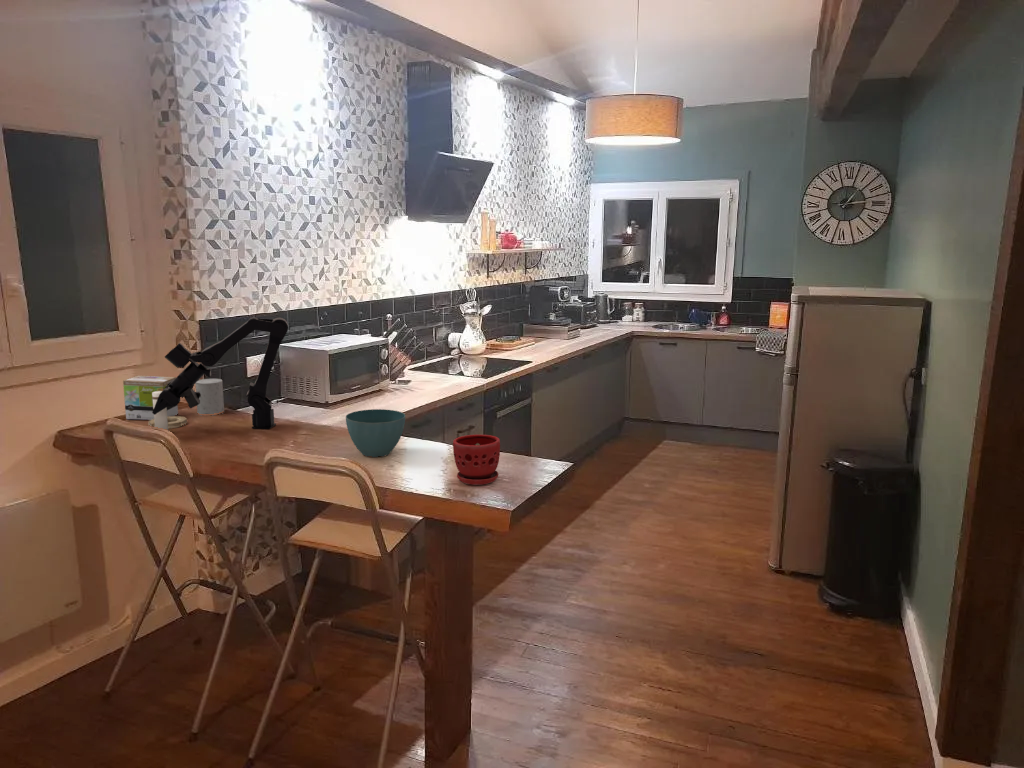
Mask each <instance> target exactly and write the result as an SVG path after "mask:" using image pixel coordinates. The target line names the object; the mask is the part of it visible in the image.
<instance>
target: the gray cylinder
mask: <svg viewBox="0 0 1024 768" xmlns="http://www.w3.org/2000/svg"><path fill="white" fill-rule="evenodd" d="M223 381H224V380H222V379H221V378H203V379H202V378H200V379H199V380H198V381H197V382H196V383H195V384H194V385H195V392H200V394H201V397H200V398H199V399H200V404H199V405H197V406H196V409H197V410H196V411H197V413H199V414H214V413H219V412H222V411H224V412H225V401H224V388H223V385H224V384H223Z"/></svg>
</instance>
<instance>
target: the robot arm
mask: <svg viewBox="0 0 1024 768" xmlns="http://www.w3.org/2000/svg"><path fill="white" fill-rule="evenodd" d="M254 331H259V332H266V333H269V337H268V338H269V339H268V343H267V347H266V350H265V353H264V355H263V356H264V357H263V360H262V362H261V366H260V368H259V371H258V375H257V377H256V380H255V382H254V383H253V382H252V381H250V383H249V389H248V391H246V392H247V393H246V397H247V403H248V405H249V406H250V407H252V408H253V410H252V414H251V421H252V422H251V425H252V426H251V429H252V430H253V429H255V430H256V429H259V430H260V429H261V430H270V429H272V428H274V427H275V426H277V423H275V413H274V411H275V410H274V408H272V406H273V401H272V399H270V398H268V397H267V396H266V395H267V387H268V382H269V379H270V375H271V372H272V369H273V367H274V363H275V360H276V356H277V353H278V350H279V348H280V347H279V346H280V345H281V343H282V342H283V340H284V338H285V336H286V334H287V333H288V332H289V324H288V322H287V320H286V319H285V318H283V317H276V318H273V319H272V318H260V317H255V316H253V317H250V318H249V319H248V320H247V321H246V322H244V323H243V324H242V325H241V326H239V327H238V328H237V329H235V330H234V331H233V332H231V333H230V334H228V335H227V336H225V338H223V339H222V340H220V341H218V342H216V343H214V344H211V345H210V346H207V347H205V348H204V349H203V350H202V351H194V352H191V351H189V350H188V349H187V348H186V347H185V346H184V345H183V343H180V342H179V343H178V344H176V346H175V347H174V348H172V349H171V350H169V352H167V354H166V355H165V356H164V358H165V359H166V360H167V361H169V363H170V364H172V365H173V366H174V367H175V368H177V369H178V368H180V369H183V368H184V369H183V370H182V371H181V372H179V374H178V375H177V376H175V377H176V378H175V379H174V380H171V381H170V382H169V383H168V384H167V386H166V387H165V389H164V390H163V391H162V392H161V393H160V395H159V397H158V399H157V402H156V404H155V407H154V409H153V412H152V413H153V414H154V415H155V414H157V413H158V412H160V411H161V410H163V409H165V408H166V407H175V406H176V405H177V404H178V405H179V404H180V402H181V399H184V400H185V401H186V403H187V406H188V407H189V409H192V408H195V407H197V405H199V404H200V399H199V398H200V397H201V394H200V392H196V390H194V389H193V388H194V386H195V385H196V384H195V383H196V382H197V381H198V380H201V379H202V378H203V377H204V375H205V376H206V377H208V378H210V377H211V376H212V368H211V367H213V366H215V364H217V363H218V362H219V361H220V360H221V359H222V358H223V356H224V355H225V354H226V353H227V352H228V351H229V350H230V349H231V348H233V347H234V346H235V345H237V344H239V342H241V341H242V340H243V339H244V338H246V337H247V336H249V335H250V334H251V333H252V332H254ZM186 365H187V366H186ZM208 367H210V368H208Z"/></svg>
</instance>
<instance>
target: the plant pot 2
mask: <svg viewBox="0 0 1024 768" xmlns="http://www.w3.org/2000/svg"><path fill="white" fill-rule="evenodd" d="M452 449H453V457H454V458H453V459H454V464H455V466H456V468H457V470H458V472H457V473H456V477H457V479H458V480H459V481H460V482H462V483H464V484H465V485H475V486H481V485H487V484H491V483H493V482H495V481H496V480H497V479H498V477H499V472H498V471H497V468H498V466H499V462H500V456H501V455H500V454H501V441H500V438H499V437H497V436H495V435H490V434H468V435H462V436H459V437H457V438H454V439H453V441H452Z"/></svg>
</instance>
